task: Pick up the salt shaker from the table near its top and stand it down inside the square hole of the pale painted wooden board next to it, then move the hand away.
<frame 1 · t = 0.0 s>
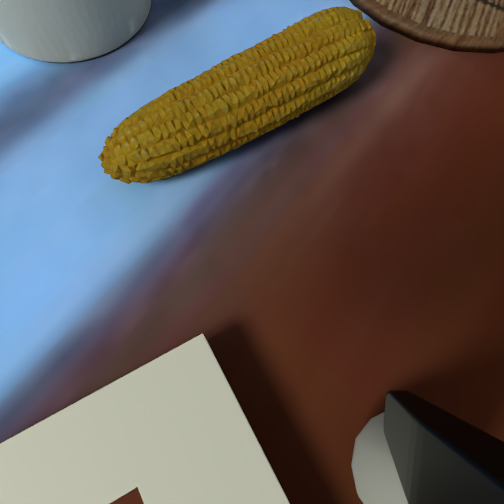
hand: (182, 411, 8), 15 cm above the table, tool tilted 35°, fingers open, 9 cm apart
food: (246, 126, 30), on the table
utensil holder: (76, 6, 34), on the table
salt shaker: (391, 462, 22), on the table
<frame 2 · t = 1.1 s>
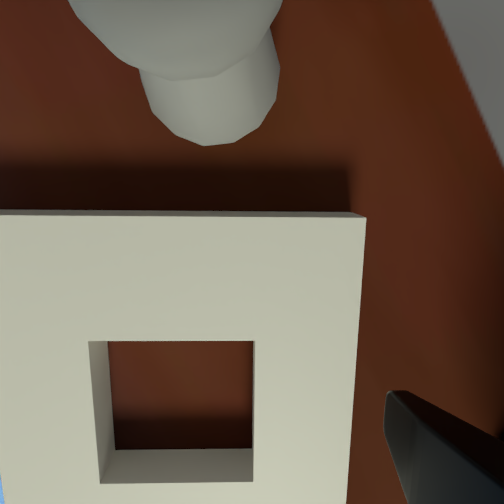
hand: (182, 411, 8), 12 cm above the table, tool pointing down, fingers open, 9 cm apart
socket board: (182, 387, 22), on the table
salt shaker: (215, 87, 19), on the table
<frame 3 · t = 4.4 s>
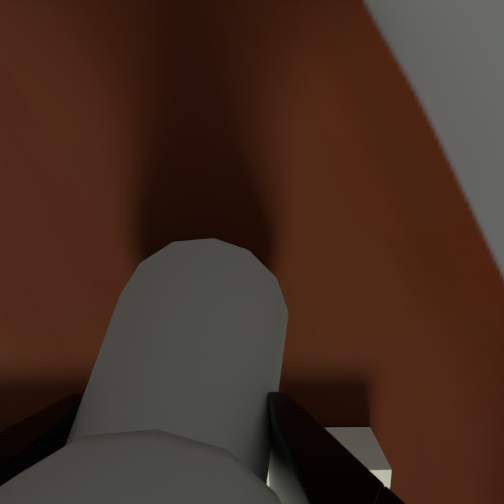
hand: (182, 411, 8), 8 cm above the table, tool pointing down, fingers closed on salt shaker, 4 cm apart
salt shaker: (210, 296, 16), on the table, touching gripper
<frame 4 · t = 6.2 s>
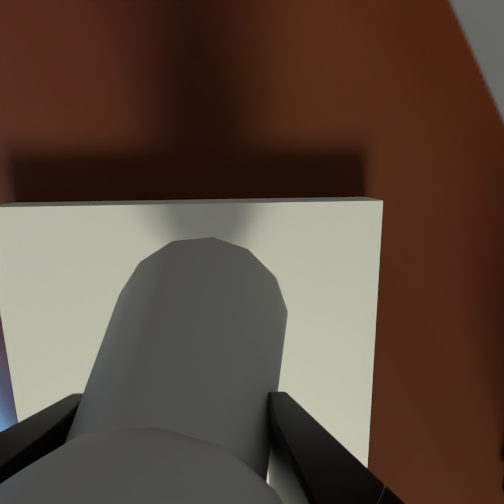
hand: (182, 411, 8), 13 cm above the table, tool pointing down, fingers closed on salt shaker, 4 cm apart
socket board: (201, 375, 22), on the table
salt shaker: (209, 296, 16), point 5 cm above the table, touching gripper
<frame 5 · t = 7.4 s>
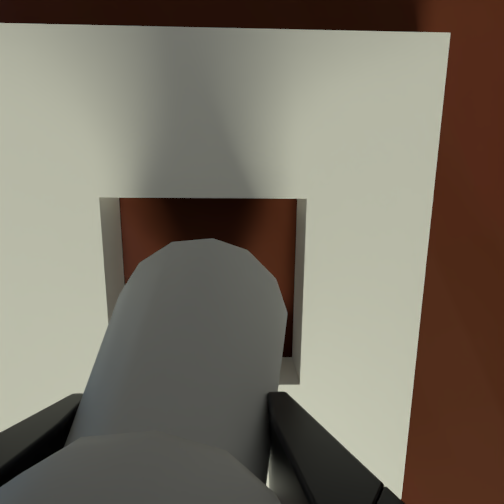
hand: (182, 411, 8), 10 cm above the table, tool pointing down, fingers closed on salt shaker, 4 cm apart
socket board: (210, 279, 18), on the table
salt shaker: (209, 297, 16), point 2 cm above the table, touching gripper
when the fingers open (9 cm above the table, at t = 8.3 s): salt shaker drops 1 cm, resting in socket board.
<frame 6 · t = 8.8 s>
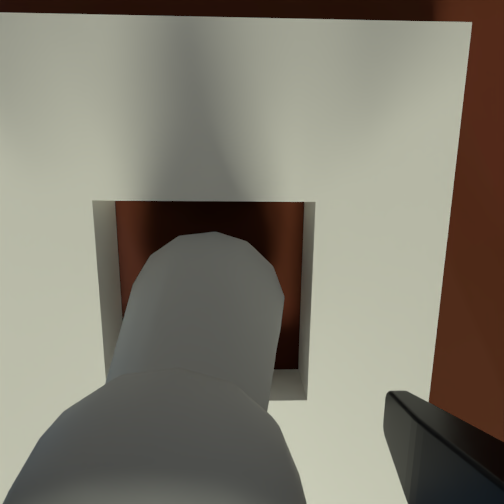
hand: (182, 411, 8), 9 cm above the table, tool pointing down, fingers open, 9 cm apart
socket board: (211, 287, 17), on the table
salt shaker: (213, 286, 17), resting in socket board
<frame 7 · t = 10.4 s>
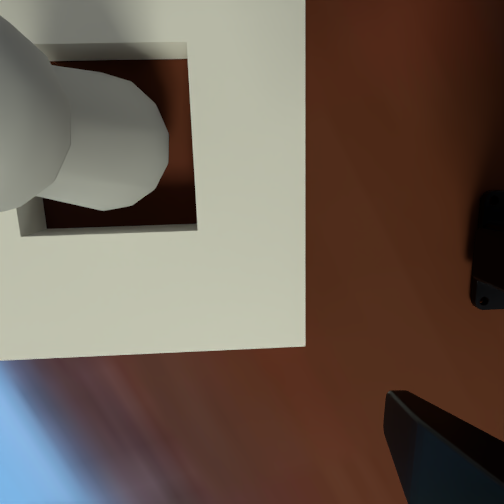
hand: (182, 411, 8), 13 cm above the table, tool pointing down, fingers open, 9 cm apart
socket board: (117, 146, 19), on the table
salt shaker: (120, 147, 20), resting in socket board
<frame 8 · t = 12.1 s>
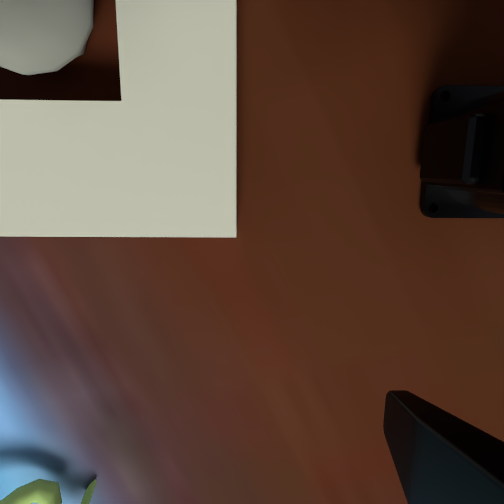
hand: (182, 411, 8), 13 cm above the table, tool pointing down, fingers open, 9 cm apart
socket board: (47, 20, 18), on the table
salt shaker: (51, 22, 19), resting in socket board
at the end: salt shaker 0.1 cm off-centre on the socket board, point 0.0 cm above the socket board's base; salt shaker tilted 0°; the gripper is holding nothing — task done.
